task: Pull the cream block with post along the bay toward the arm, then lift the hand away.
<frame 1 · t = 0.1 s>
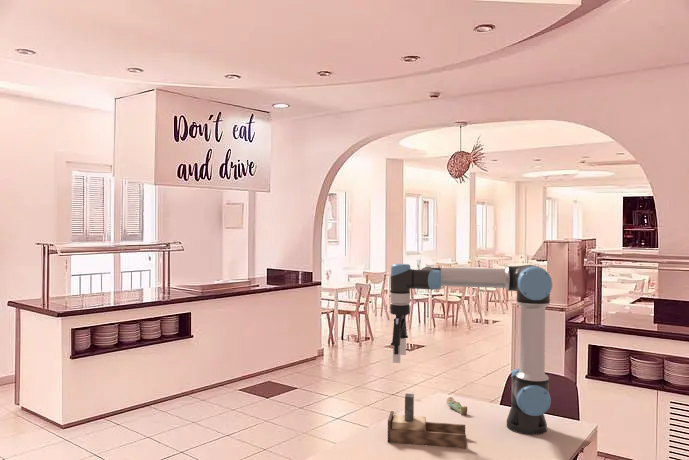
hand: (399, 358, 216), 28 cm above the table, tool pointing down, fingers open, 13 cm apart
figurine: (456, 410, 242), on the table
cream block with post: (409, 415, 208), point 9 cm above the table, slide at 0.0 cm
bay: (426, 439, 207), on the table
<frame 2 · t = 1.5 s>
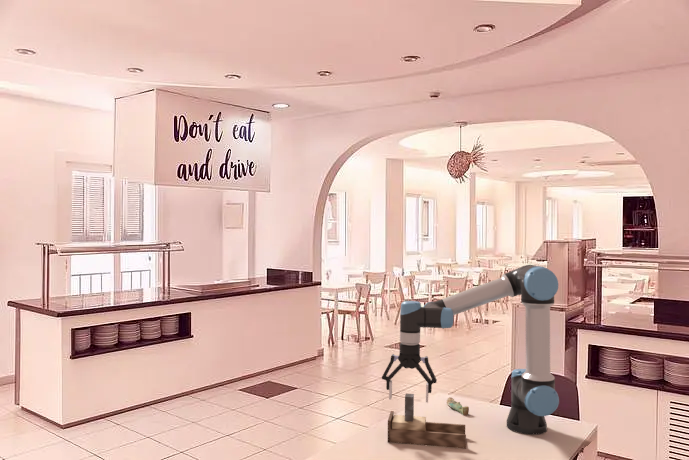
hand: (408, 400, 208), 14 cm above the table, tool pointing down, fingers open, 13 cm apart
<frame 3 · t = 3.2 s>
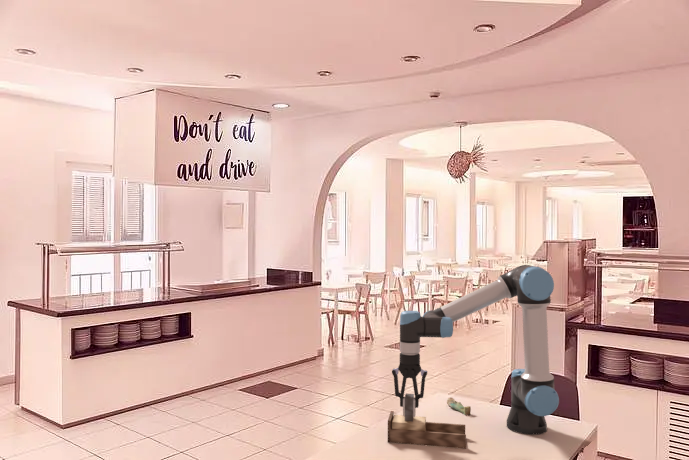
hand: (409, 415, 208), 9 cm above the table, tool pointing down, fingers closed on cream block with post, 3 cm apart
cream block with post: (409, 415, 208), point 9 cm above the table, slide at 0.0 cm, touching gripper
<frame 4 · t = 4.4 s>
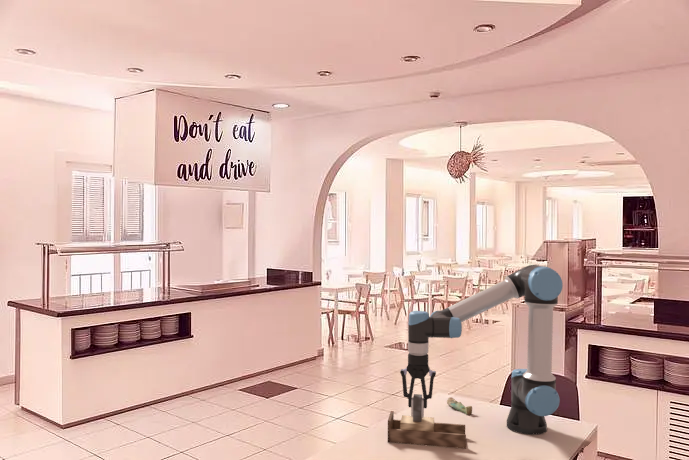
hand: (417, 416, 208), 9 cm above the table, tool pointing down, fingers closed on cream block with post, 3 cm apart
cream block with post: (417, 416, 208), point 9 cm above the table, slide at 3.1 cm, touching gripper
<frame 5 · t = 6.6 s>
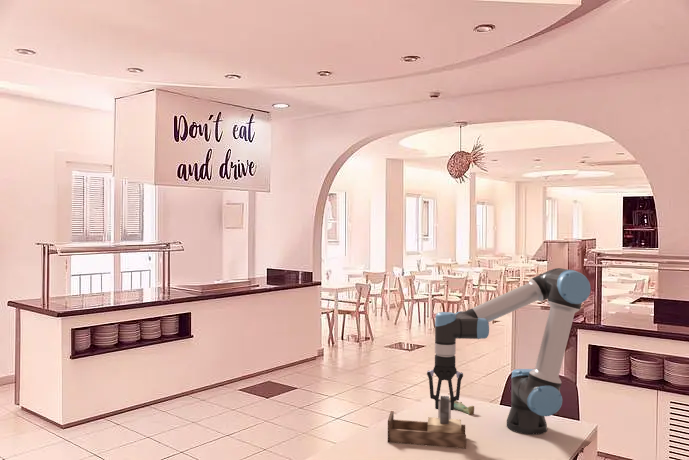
hand: (444, 418, 206), 9 cm above the table, tool pointing down, fingers closed on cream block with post, 3 cm apart
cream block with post: (444, 418, 206), point 9 cm above the table, slide at 13.0 cm, touching gripper
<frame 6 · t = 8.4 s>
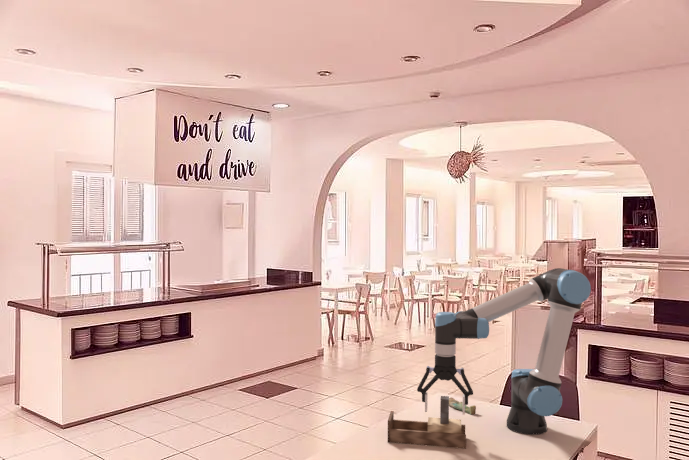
hand: (444, 412, 206), 11 cm above the table, tool pointing down, fingers open, 13 cm apart
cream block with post: (444, 418, 206), point 9 cm above the table, slide at 13.0 cm
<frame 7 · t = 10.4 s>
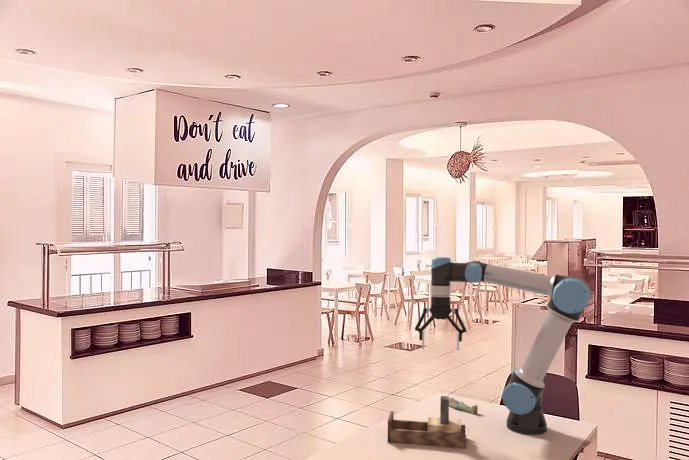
hand: (440, 349, 223), 30 cm above the table, tool pointing down, fingers open, 13 cm apart
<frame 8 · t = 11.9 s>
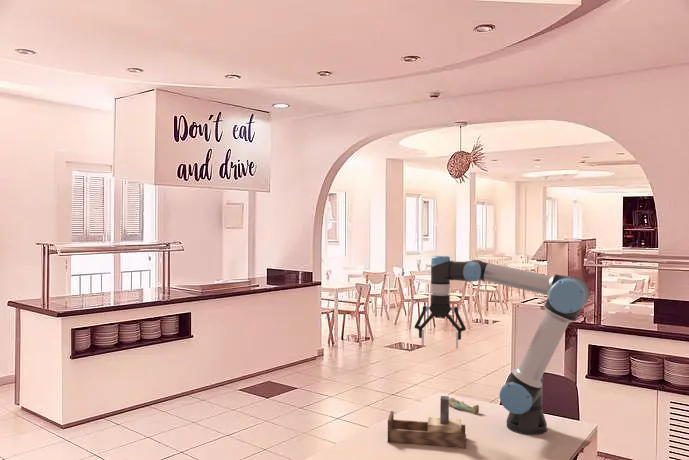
hand: (439, 347, 225), 31 cm above the table, tool pointing down, fingers open, 13 cm apart
at the end: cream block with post slide at 13.0 cm; the gripper is holding nothing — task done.
